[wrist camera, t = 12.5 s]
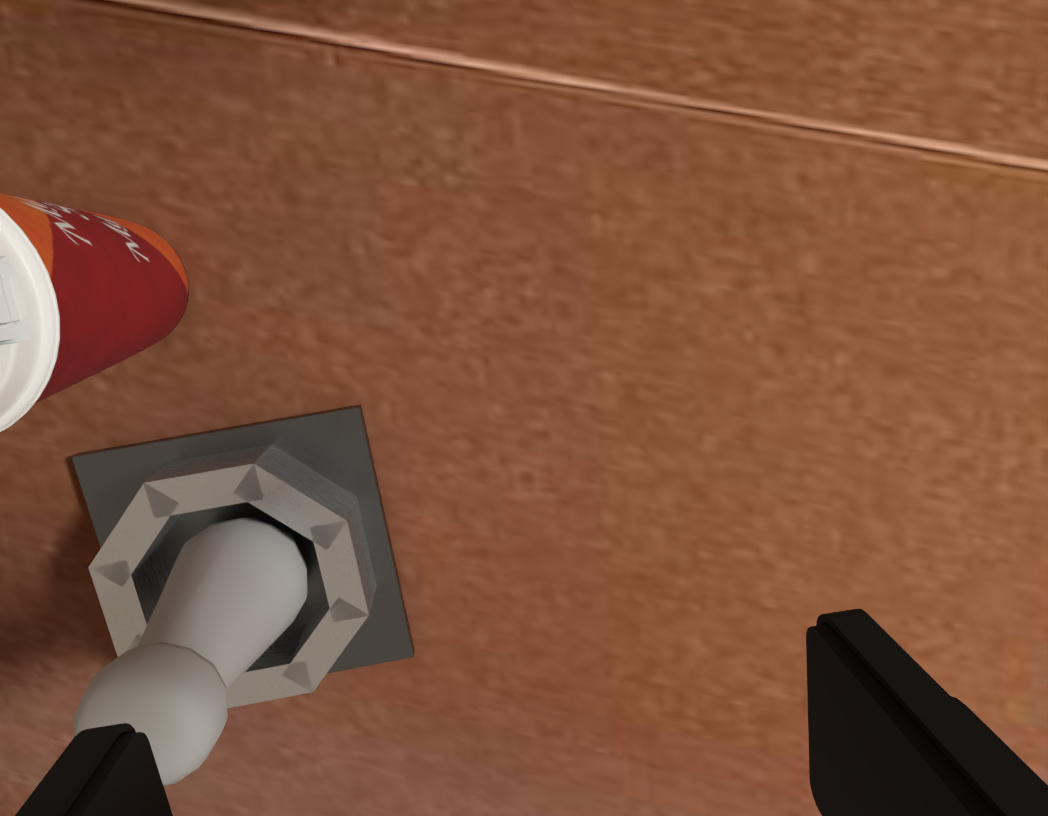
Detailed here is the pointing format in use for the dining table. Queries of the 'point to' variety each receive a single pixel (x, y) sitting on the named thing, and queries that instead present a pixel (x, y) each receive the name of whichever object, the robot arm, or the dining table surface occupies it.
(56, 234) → the paper cup
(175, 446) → the ring collar
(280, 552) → the grey peg
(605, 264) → the dining table surface
